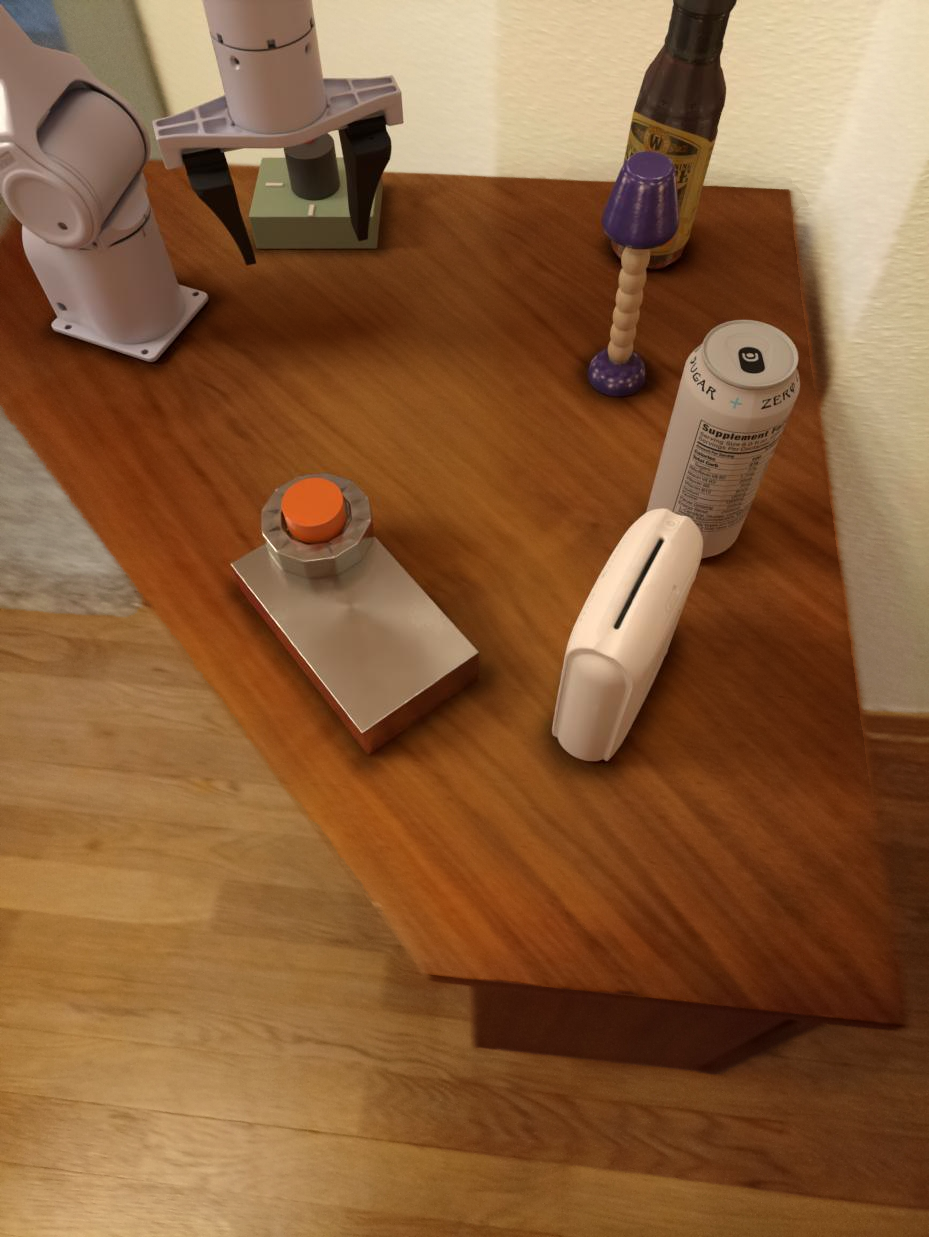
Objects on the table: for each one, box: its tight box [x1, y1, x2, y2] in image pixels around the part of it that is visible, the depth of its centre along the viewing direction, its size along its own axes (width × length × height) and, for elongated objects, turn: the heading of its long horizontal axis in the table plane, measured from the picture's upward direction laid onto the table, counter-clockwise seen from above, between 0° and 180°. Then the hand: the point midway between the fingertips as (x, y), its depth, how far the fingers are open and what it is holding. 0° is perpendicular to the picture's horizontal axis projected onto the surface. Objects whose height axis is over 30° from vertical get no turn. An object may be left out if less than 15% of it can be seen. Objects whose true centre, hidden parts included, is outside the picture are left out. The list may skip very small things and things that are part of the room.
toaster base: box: [230, 472, 480, 756], centre depth 52 cm, size 16×9×5 cm, turn 38°
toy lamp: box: [587, 151, 679, 398], centre depth 58 cm, size 5×5×17 cm
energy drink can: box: [645, 319, 801, 560], centre depth 51 cm, size 6×6×15 cm
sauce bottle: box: [610, 0, 738, 270], centre depth 64 cm, size 6×6×20 cm
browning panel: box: [248, 156, 384, 250], centre depth 74 cm, size 10×8×3 cm
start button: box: [281, 478, 347, 544], centre depth 52 cm, size 4×4×2 cm
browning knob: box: [283, 133, 340, 200], centre depth 71 cm, size 4×4×4 cm
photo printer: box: [551, 508, 703, 762], centre depth 47 cm, size 10×4×12 cm, turn 152°
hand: (304, 243), depth 60 cm, fingers open, 7 cm apart
